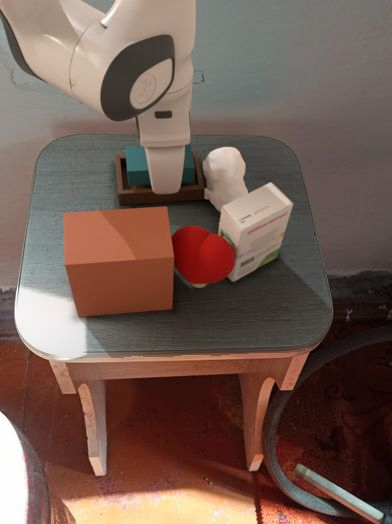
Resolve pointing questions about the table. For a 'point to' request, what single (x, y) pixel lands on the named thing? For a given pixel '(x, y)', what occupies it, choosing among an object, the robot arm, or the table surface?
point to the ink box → (255, 228)
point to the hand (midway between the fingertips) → (159, 169)
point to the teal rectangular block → (139, 166)
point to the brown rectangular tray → (145, 192)
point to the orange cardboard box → (119, 260)
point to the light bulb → (201, 255)
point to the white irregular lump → (224, 176)
